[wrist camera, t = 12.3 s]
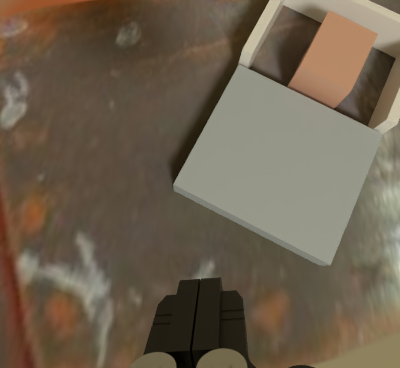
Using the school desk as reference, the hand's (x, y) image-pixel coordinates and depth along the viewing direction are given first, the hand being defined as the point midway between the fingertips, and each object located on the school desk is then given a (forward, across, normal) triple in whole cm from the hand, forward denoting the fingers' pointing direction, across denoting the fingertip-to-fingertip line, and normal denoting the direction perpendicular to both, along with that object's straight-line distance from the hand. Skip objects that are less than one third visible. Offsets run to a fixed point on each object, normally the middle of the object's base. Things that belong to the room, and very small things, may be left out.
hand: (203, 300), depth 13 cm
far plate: (+29, -6, +3) cm, 30 cm away
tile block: (+32, -12, -4) cm, 34 cm away
